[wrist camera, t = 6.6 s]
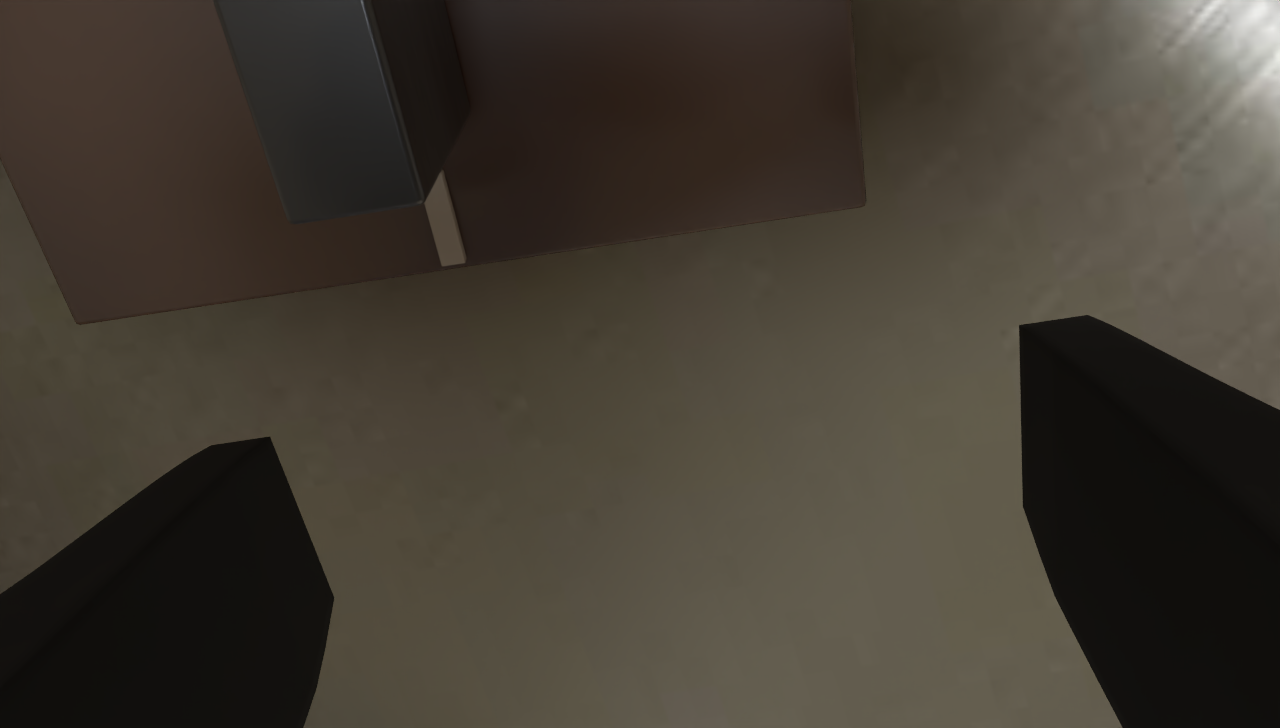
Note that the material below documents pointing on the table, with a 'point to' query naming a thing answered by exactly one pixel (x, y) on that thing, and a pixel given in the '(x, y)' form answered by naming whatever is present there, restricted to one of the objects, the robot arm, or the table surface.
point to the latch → (349, 99)
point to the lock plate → (475, 169)
